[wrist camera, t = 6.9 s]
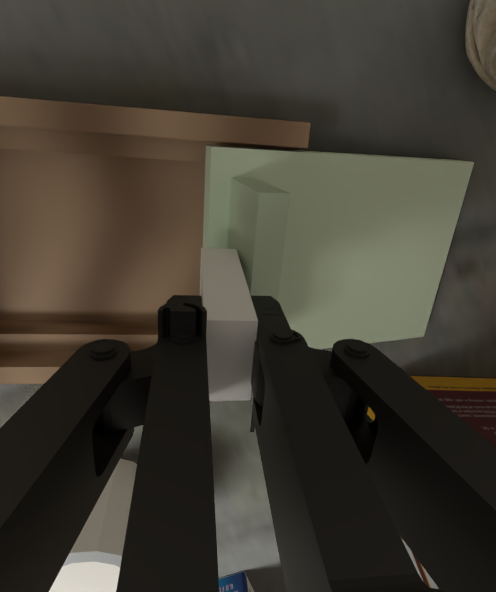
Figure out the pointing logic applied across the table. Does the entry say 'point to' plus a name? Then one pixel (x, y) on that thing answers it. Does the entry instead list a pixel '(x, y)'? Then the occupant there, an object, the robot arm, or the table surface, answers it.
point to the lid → (337, 235)
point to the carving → (482, 39)
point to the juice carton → (235, 583)
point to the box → (103, 221)
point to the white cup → (101, 538)
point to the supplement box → (469, 407)
